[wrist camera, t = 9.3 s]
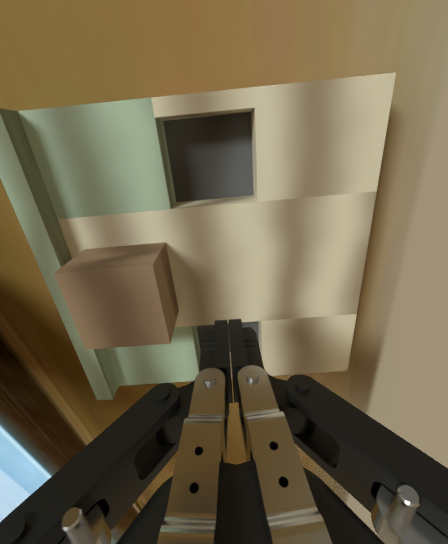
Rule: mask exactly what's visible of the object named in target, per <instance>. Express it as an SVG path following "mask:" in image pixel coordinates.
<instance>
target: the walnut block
mask: <svg viewBox="0 0 448 544" xmlns="http://www.w3.org/2000/svg"><path fill="white" fill-rule="evenodd" d="M54 275H55V277H56V280H57V282H58V284H59V287H60V289H61V292H62V294H63V296H64V299H65V301H66V304H67V306H68V309H69V311H70V313H71V316H72V318H73V321H74V323H75V326H76V328H77V330H78V333H79V335H80V338H81V340H82V342H83V345H84V347H85V350H88V349H102V348H116V347H130V346H144V345H158V344H170V343H171V339H172V335H173V331H174V328H175V324H176V320H177V316H178V312H179V308H178V303H177V298H176V293H175V288H174V283H173V278H172V272H171V267H170V262H169V257H168V252H167V247H166V242H163V243H151V244H139V245H128V246H116V247H104V248H92V249H85V250H83V251H82V252H81V253H79V254H78V255H77V256H75V257H74V258H73V259H72V260H70V261H69V262H68V263H66V264H65V265H64V266H62V267H61V268H60V269H59V270H57V271H56V272H55V273H54Z"/></svg>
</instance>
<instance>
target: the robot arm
mask: <svg viewBox="0 0 448 544" xmlns="http://www.w3.org/2000/svg"><path fill="white" fill-rule="evenodd" d="M228 320H229V336H230V351H229V337H228V322H227V320H215V329H214V330H206V331H205V332H204V334H203V335H202V339H201V352H200V366H199V373H198V374H197V376H196V378H195V380H194V381H193V382H191V383H190V384H188V385H186V386H183V387H180V388H177V387H176V386H175V385H173V384H171V383H162V384H159V385H156V386H155V387H153V388H152V389H151V390H150V391H149V392H148V393H146V394H145V395H144V396H143V397H142V398H141V399H140V400H138V401H137V402H136V403H135V404H134V405H133V406H132V407H130V408H129V409H128V410H127V411H126V412H125V413H124V414H123V415H121V416H120V417H119V418H118V419H117V420H116V421H115V422H113V423H112V424H111V425H110V426H109V427H108V428H107V429H105V430H104V431H103V432H102V433H101V434H100V435H99V436H98V437H96V438H95V439H94V440H93V441H92V442H91V443H90V444H88V445H87V446H86V447H85V448H84V449H83V450H82V451H80V452H79V453H78V454H77V455H76V456H75V457H74V458H72V459H71V460H70V461H69V462H68V463H67V464H66V465H65V466H63V467H62V468H61V469H60V470H59V471H58V472H57V473H55V474H54V475H53V476H52V477H51V478H50V479H49V480H47V481H46V482H45V483H44V484H43V485H42V486H41V487H40V488H38V489H37V490H36V491H35V492H34V493H33V494H32V495H30V496H29V497H28V498H27V499H26V500H25V501H24V502H22V503H21V504H20V505H19V506H18V507H17V508H16V509H14V510H13V511H12V512H11V513H10V514H9V515H8V516H7V517H6V518H4V519H3V520H2V521H1V523H0V544H111V530H112V529H113V527H114V526H115V525H116V524H117V523H118V521H119V520H120V519H121V518H122V517H123V515H124V514H125V513H126V512H127V511H128V509H129V508H130V507H131V506H132V505H133V503H134V502H135V501H136V500H137V499H138V497H139V496H140V495H141V494H142V493H143V491H144V490H145V489H146V488H147V487H148V485H149V484H150V483H151V482H152V481H153V479H154V478H155V477H156V476H157V475H158V473H159V472H160V471H161V470H162V469H163V467H164V466H165V465H166V464H167V463H168V461H169V460H170V459H171V458H172V457H173V455H174V454H175V453H176V452H177V451H178V453H177V459H176V464H175V469H174V474H173V476H172V477H171V478H169V479H168V480H167V481H165V482H164V483H163V484H162V485H161V486H160V487H159V488H158V489H157V491H156V492H155V493H154V494H153V496H152V497H151V498H150V500H149V501H148V502H147V504H146V505H145V506H144V508H143V509H142V510H141V512H140V513H139V514H138V516H137V517H136V518H135V520H134V521H133V522H132V524H131V525H130V526H129V528H128V529H127V530H126V532H125V533H124V534H123V536H122V537H121V538H120V539H119V541H118V542H117V543H116V544H448V468H446V467H444V466H443V465H441V464H440V463H439V462H437V461H435V460H434V459H433V458H431V457H429V456H428V455H427V454H425V453H423V452H422V451H421V450H419V449H418V448H416V447H415V446H413V445H412V444H410V443H408V442H407V441H406V440H404V439H403V438H401V437H400V436H398V435H396V434H395V433H394V432H392V431H391V430H389V429H387V428H386V427H384V426H383V425H381V424H380V423H378V422H377V421H375V420H374V419H372V418H371V417H369V416H368V415H366V414H365V413H363V412H362V411H360V410H359V409H357V408H356V407H354V406H353V405H351V404H350V403H348V402H347V401H345V400H344V399H342V398H341V397H339V396H338V395H336V394H335V393H333V392H332V391H330V390H329V389H327V388H326V387H324V386H323V385H321V384H320V383H318V382H317V381H315V380H314V379H312V378H311V377H309V376H306V375H294V376H291V377H290V378H289V379H288V380H287V381H285V380H281V379H277V378H274V377H272V376H270V375H269V374H268V373H267V372H266V371H265V369H264V366H263V361H262V357H261V352H260V348H259V343H258V339H257V334H256V332H255V331H254V330H253V329H252V327H244V328H242V321H241V319H228ZM230 352H231V365H232V379H233V392H234V403H235V402H238V403H239V417H240V424H241V430H242V435H243V441H244V447H245V453H246V459H247V462H245V463H242V464H239V465H234V464H230V463H227V449H228V416H229V403H233V397H232V381H231V366H230ZM295 444H296V445H297V446H298V447H299V448H301V449H302V450H303V451H304V452H305V453H306V454H307V455H308V456H309V457H310V458H311V459H313V460H314V461H315V462H316V463H317V464H318V465H319V466H320V467H321V468H322V469H324V470H325V471H326V472H327V473H328V474H329V475H330V476H331V477H332V478H333V479H334V480H336V481H337V482H338V483H339V484H340V485H341V486H342V487H343V488H344V489H345V490H346V491H348V492H349V493H350V494H351V495H352V496H353V497H354V498H355V499H356V500H358V501H359V502H360V503H361V504H362V505H363V506H364V507H365V508H366V509H367V510H368V511H369V512H371V518H372V523H373V526H374V528H375V531H376V532H377V534H378V535H379V537H380V538H381V539H380V538H379V537H378V536H377V535H376V534H375V533H374V532H373V531H372V530H371V529H370V528H369V527H368V526H367V525H366V524H365V523H364V522H363V521H362V520H361V519H360V518H359V517H358V516H357V515H356V514H355V513H354V512H353V511H352V510H351V509H350V508H349V507H348V506H347V505H346V504H345V503H344V502H343V501H342V500H341V499H340V498H339V497H338V496H337V495H336V494H335V493H334V492H333V491H332V490H331V489H330V488H329V487H328V486H327V485H326V484H325V483H324V482H323V481H322V480H321V479H320V478H319V477H317V476H316V475H315V474H314V473H312V472H310V471H309V470H307V469H305V468H303V467H302V464H301V461H300V458H299V455H298V452H297V449H296V446H295Z"/></svg>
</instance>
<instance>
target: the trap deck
mask: <svg viewBox="0 0 448 544" xmlns="http://www.w3.org/2000/svg"><path fill="white" fill-rule="evenodd" d="M395 76H396V73H388V74H378V75H368V76H358V77H349V78H339V79H329V80H319V81H310V82H300V83H290V84H280V85H270V86H261V87H251V88H241V89H231V90H222V91H212V92H202V93H192V94H182V95H173V96H163V97H153V98H143V99H134V100H124V101H114V102H104V103H94V104H85V105H75V106H65V107H55V108H46V109H36V110H26V111H12V110H6V109H0V178H1V180H2V183H3V185H4V187H5V190H6V192H7V194H8V196H9V199H10V201H11V203H12V206H13V208H14V210H15V213H16V215H17V217H18V219H19V222H20V224H21V226H22V229H23V231H24V233H25V236H26V238H27V240H28V242H29V245H30V247H31V249H32V252H33V254H34V256H35V259H36V261H37V263H38V265H39V268H40V270H41V272H42V275H43V277H44V279H45V282H46V284H47V286H48V288H49V291H50V293H51V295H52V298H53V300H54V302H55V305H56V307H57V309H58V311H59V314H60V316H61V318H62V321H63V323H64V325H65V328H66V330H67V332H68V335H69V337H70V339H71V341H72V344H73V346H74V348H75V351H76V353H77V355H78V358H79V360H80V362H81V364H82V367H83V369H84V371H85V374H86V376H87V378H88V381H89V383H90V385H91V387H92V390H93V392H94V394H95V397H96V399H97V400H111V399H113V398H114V396H115V394H116V391H117V389H118V387H119V386H125V385H140V384H155V383H170V382H185V381H194V380H195V378H196V376H197V374H198V373H199V366H200V352H201V339H202V335H203V334H204V332H205V331H206V330H214V329H215V320H227V322H228V337H229V351H230V336H229V320H228V319H241V321H242V328H244V327H252V329H253V330H254V331H255V332H256V334H257V339H258V343H259V348H260V352H261V357H262V361H263V366H264V369H265V371H266V372H267V373H268V374H269V375H270V376H276V375H291V374H306V373H321V372H336V371H347V370H348V364H349V358H350V352H351V346H352V339H353V333H354V327H355V321H356V315H357V309H358V303H359V297H360V290H361V284H362V278H363V272H364V266H365V260H366V254H367V248H368V241H369V235H370V229H371V223H372V217H373V211H374V205H375V199H376V192H377V186H378V180H379V174H380V168H381V162H382V156H383V150H384V143H385V137H386V131H387V125H388V119H389V113H390V107H391V101H392V94H393V88H394V82H395ZM163 242H166V247H167V252H168V257H169V262H170V267H171V272H172V278H173V283H174V288H175V293H176V298H177V303H178V308H179V312H178V316H177V320H176V324H175V328H174V331H173V335H172V339H171V343H170V344H158V345H144V346H130V347H116V348H102V349H88V350H85V347H84V345H83V342H82V340H81V338H80V335H79V333H78V330H77V328H76V326H75V323H74V321H73V318H72V316H71V313H70V311H69V309H68V306H67V304H66V301H65V299H64V296H63V294H62V292H61V289H60V287H59V284H58V282H57V280H56V277H55V275H54V273H55V272H56V271H57V270H59V269H60V268H61V267H62V266H64V265H65V264H66V263H68V262H69V261H70V260H72V259H73V258H74V257H75V256H77V255H78V254H79V253H81V252H82V251H83V250H85V249H92V248H104V247H116V246H128V245H139V244H151V243H163ZM230 366H231V378H232V365H231V352H230Z"/></svg>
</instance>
